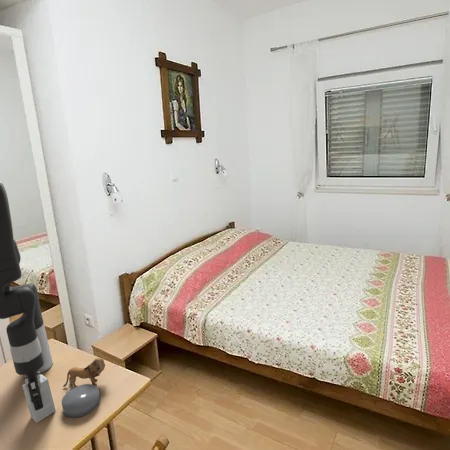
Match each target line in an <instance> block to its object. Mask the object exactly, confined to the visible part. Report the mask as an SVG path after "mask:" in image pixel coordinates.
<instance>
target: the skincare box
mask: <svg viewBox="0 0 450 450" xmlns="http://www.w3.org/2000/svg"><path fill="white" fill-rule="evenodd" d="M40 382H41V389H40V392H41V394H42V402H43V408H42V409H39V410H37V411H36V410H35V408H34V404H33V403H32V402H31V397H30V393H29V392H28V388H27V383H24V384H22V385H21V386H22V391H23V393H24V397H25V400H26V404H27V408H28V411H29V414H30V415H29V416H30V417H31V419H32V420H33V421H34V422H35V423H36V424H38V423H39V422H41V421H42V420H43V419H45V418H47V417H48V416H50V415H51V414H53V413H54V412H56V406H55V402H54V399H53V394H52V389H51V387H50V382H49V378H47V377H46V376H44V374H43V373H42V374H41V373H40ZM38 386H39V383H38ZM37 394H38V393H37ZM37 394H34V395H37ZM34 395H33V396H34Z"/></svg>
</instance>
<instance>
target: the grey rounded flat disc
mask: <svg viewBox="0 0 450 450" xmlns="http://www.w3.org/2000/svg"><path fill="white" fill-rule="evenodd" d="M76 386H77V387H75V388H74V387H73V388H71V389H70V390H69V391H67V393H65V394H64V395H63V398H62V399H61V406H62V410H63V414H64V415H65V416H66V417H67V418H69V419H77V418H82V417H84V416H87V415H88V414H89V415H90V414H91V413H92V412H93V411H94V410H95V409H97V407H98V406H99V405H100V403H101V402H100V401H101V395H100V390H99V388H98V386H95V385H92V383H85V384H80V385H76Z"/></svg>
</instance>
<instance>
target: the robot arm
mask: <svg viewBox="0 0 450 450" xmlns="http://www.w3.org/2000/svg"><path fill="white" fill-rule="evenodd" d="M21 260H22V258H21V253H20V251H19V247H18V244H17V242H16V240H15V239H14V231H13V222H12V217H11V210H10V203H9V197H8V194H7V190H6V188H5V186H4V183H3V182H2V180H0V320H5V319H9V318H12V317H15V316H18V315H21V314H22V315H21V316H19V318H17V319H15V320H13V321H12V322H10V323H9V324H7V327H6V335H7V338H8V339H7V340H8V343H9V348H10V349H9V350H10V355H11V359H12V362H13V363H12V364H13V366H14V369H15V371H14V372H15V373H16V374H17V375H20V376H24V382H25V383H27V388H28V392H29V393H30V397H31V402H32V403H33V404H34V408H35V410H36V411H37V410H39V409H42V408H43V402H42V394H41V392H40V389H41V382H40V375H41V373H42V374H43V373H44V372H46V371H47V370H49V369H50V368H51V367H52V366H53V358H52V354H51V349H50V343H49V340H48V335H47V331H46V327H45V323H44V318H43V315H42V314H43V313H42V310H41V304H40V299H39V293H38V288H37V286H36V285H35V284H34V283H26V284H25V283H24V284H21V285H16V286H11V284H12V283H14V282H15V281H18V280H20V279H21V278H22V277H23V276H22V274H23V273H22V269H21V266H20V263H21ZM25 383H24V384H25ZM38 383H39V386H38ZM37 393H38V394H37ZM34 394H37V395H34ZM33 395H34V396H33Z"/></svg>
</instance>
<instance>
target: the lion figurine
mask: <svg viewBox="0 0 450 450" xmlns="http://www.w3.org/2000/svg"><path fill="white" fill-rule="evenodd" d="M105 367H106V364H105V361H104V358H101V357H96V358H94V360H93V361H92V362H91V363H90V364H89V365H87V366H85V367H76V366H75V367H72V368H70V369H68V372H67V375H66V382H65V383H64V384H63V386H62V387H64V388H66V386H67V385H68V382H69V384H72V386H73V388H75V387H77V386H78V385H76V380H77V378H79V379H82V380H84V379H85V380H86V379H89V380H90V382H91V384H92V385H95V386H97V385H98V384H97V383H96V382H97V381H98V378H97V377H100V376H101V373H102V372H103V371H104V370H105ZM97 387H98V386H97Z"/></svg>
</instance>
